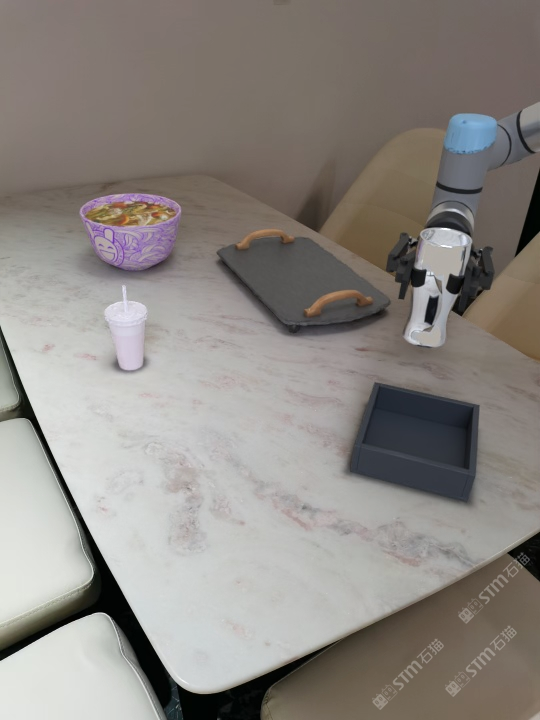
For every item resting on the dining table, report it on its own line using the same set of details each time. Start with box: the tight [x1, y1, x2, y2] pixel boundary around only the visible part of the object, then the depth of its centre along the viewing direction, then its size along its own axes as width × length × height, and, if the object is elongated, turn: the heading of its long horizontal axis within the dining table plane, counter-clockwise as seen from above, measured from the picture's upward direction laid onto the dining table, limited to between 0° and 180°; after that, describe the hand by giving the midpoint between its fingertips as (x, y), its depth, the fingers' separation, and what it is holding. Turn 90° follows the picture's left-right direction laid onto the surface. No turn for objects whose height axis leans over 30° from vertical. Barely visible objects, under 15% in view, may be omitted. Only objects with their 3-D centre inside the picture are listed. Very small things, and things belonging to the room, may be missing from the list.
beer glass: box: [402, 228, 473, 349], centre depth 80 cm, size 7×7×15 cm
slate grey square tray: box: [349, 381, 481, 503], centre depth 79 cm, size 15×15×5 cm
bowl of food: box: [78, 193, 182, 272], centre depth 123 cm, size 20×20×12 cm
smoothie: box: [103, 284, 149, 371], centre depth 90 cm, size 6×6×14 cm
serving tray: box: [216, 228, 392, 334], centre depth 118 cm, size 39×23×6 cm, turn 26°
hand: (432, 295), depth 75 cm, fingers closed on beer glass, 7 cm apart
